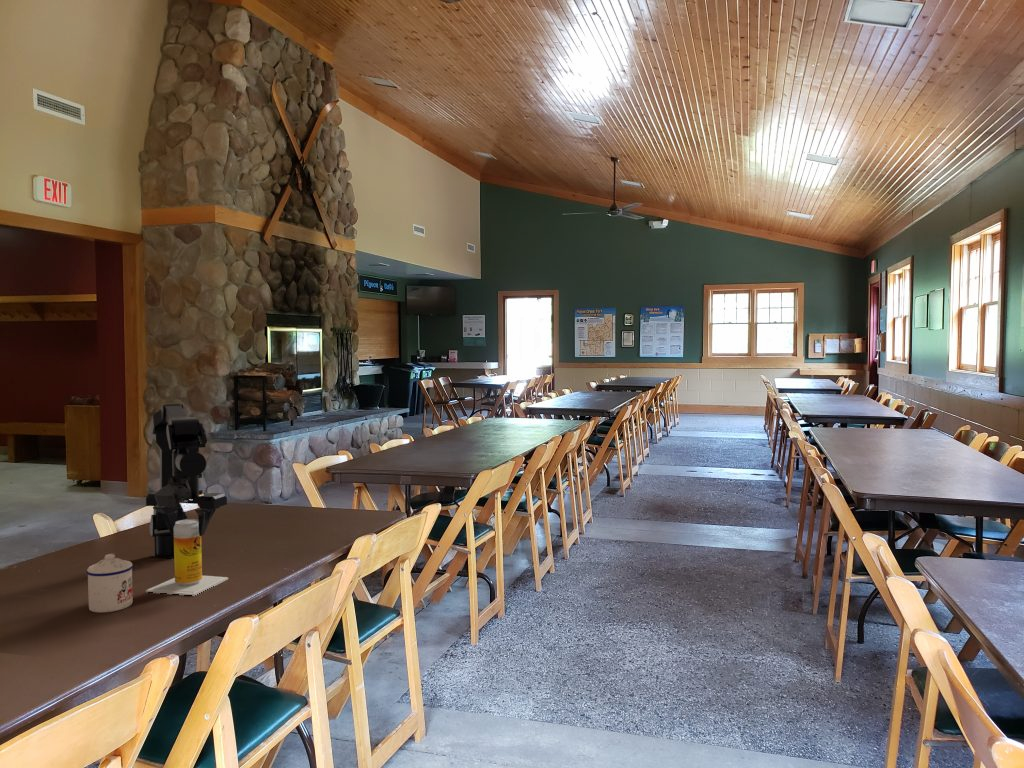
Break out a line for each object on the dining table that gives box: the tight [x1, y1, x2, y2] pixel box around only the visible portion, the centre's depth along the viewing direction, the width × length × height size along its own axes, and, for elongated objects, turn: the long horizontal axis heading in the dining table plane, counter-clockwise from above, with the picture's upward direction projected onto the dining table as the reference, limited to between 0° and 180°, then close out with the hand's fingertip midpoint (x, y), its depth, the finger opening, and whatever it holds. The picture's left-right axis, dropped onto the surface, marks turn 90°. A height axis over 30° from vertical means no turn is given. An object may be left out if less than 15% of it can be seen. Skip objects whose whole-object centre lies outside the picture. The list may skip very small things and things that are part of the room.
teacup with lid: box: [86, 553, 134, 614], centre depth 164 cm, size 12×9×12 cm
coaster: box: [145, 574, 229, 597], centre depth 177 cm, size 13×13×1 cm
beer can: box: [173, 518, 203, 586], centre depth 177 cm, size 6×6×15 cm
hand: (187, 534), depth 177 cm, fingers open, 8 cm apart
